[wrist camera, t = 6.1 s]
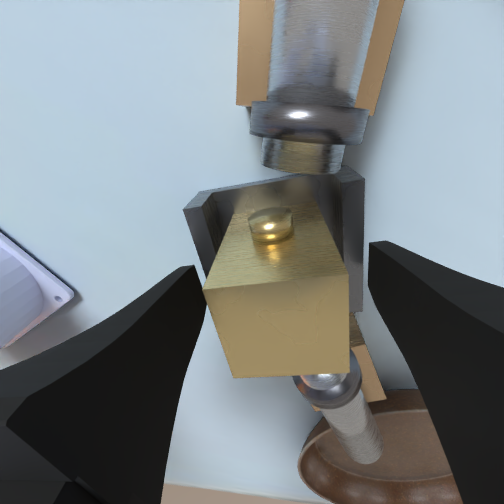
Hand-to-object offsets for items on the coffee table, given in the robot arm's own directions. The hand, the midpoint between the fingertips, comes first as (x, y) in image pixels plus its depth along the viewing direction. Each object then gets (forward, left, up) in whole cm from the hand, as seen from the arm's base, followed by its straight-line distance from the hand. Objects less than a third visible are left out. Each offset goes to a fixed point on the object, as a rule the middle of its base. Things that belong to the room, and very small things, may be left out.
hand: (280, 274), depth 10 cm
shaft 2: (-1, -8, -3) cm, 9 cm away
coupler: (0, 0, -3) cm, 3 cm away
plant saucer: (-2, -22, -4) cm, 22 cm away
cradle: (0, 0, -3) cm, 3 cm away
